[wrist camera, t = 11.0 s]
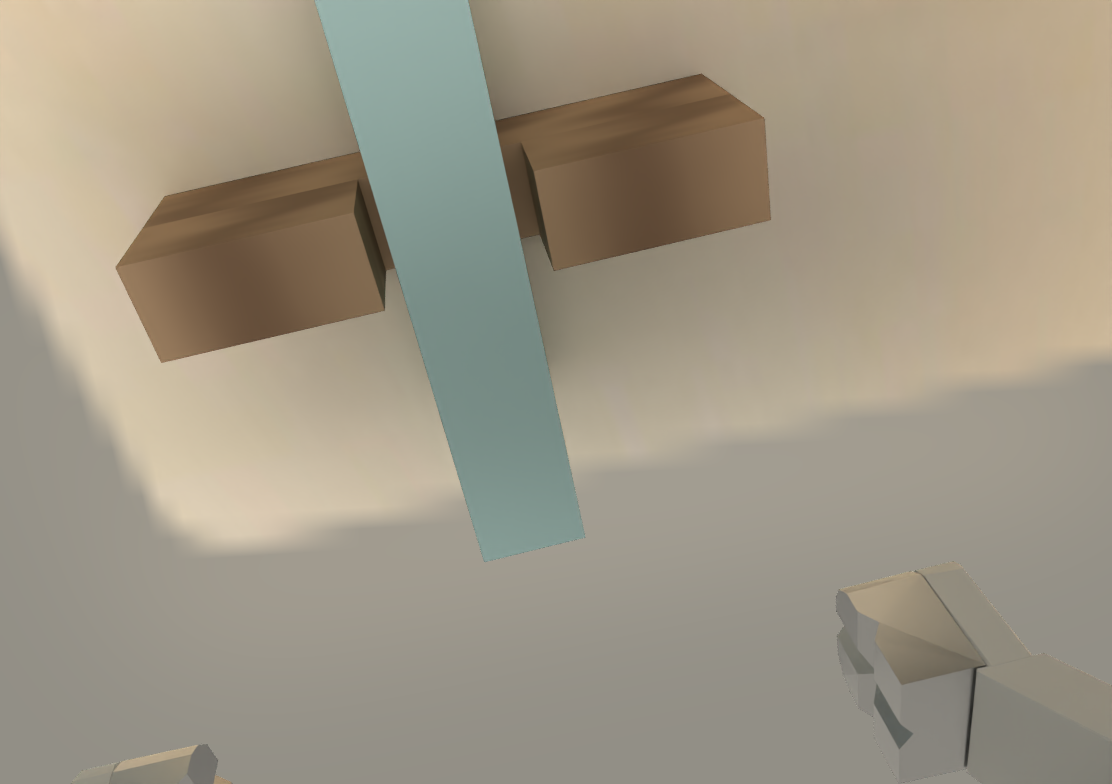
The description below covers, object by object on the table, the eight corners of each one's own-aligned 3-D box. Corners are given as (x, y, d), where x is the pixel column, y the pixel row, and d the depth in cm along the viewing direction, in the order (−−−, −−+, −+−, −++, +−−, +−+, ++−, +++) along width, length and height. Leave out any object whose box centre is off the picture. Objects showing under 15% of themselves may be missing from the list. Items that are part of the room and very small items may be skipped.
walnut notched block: (701, 73, 30) (764, 118, 25) (710, 161, 31) (770, 220, 26) (164, 196, 29) (115, 267, 24) (200, 279, 31) (161, 362, 26)
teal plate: (434, -95, 26) (452, -73, 18) (539, 371, 35) (585, 537, 26) (333, -72, 26) (302, -40, 18) (462, 389, 35) (484, 562, 26)
